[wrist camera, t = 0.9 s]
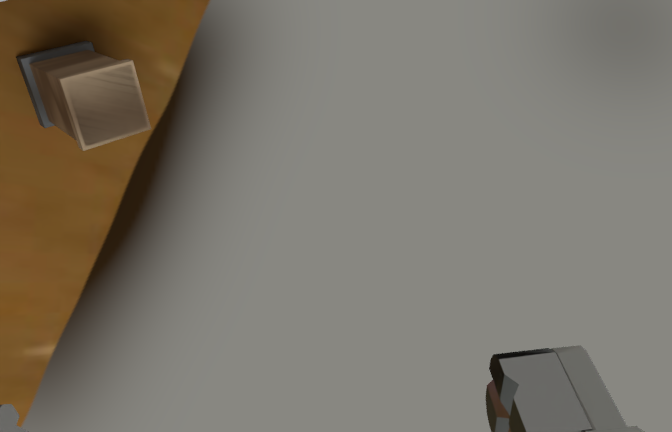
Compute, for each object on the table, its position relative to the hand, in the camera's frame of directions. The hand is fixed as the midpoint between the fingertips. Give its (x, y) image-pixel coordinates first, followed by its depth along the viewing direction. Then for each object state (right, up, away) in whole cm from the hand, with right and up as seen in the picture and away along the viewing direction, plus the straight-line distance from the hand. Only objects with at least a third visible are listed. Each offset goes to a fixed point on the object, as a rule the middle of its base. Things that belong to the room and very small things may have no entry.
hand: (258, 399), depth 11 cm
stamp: (-18, +13, +33) cm, 40 cm away
